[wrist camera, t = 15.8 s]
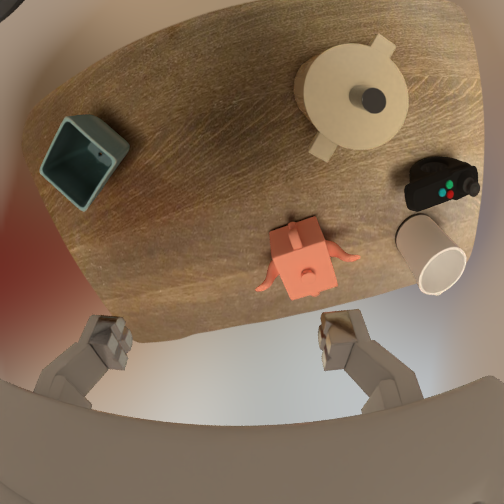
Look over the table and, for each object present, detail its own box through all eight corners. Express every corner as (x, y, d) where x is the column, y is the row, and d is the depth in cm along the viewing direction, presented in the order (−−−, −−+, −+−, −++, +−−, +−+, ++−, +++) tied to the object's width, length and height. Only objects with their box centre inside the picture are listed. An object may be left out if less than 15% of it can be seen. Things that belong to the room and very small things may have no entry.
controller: (450, 170, 35) (488, 198, 27) (388, 193, 38) (419, 227, 30) (447, 145, 33) (488, 169, 25) (383, 167, 36) (416, 196, 28)
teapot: (352, 257, 45) (367, 291, 38) (268, 284, 48) (270, 322, 41) (336, 194, 38) (354, 224, 32) (239, 228, 42) (237, 263, 35)
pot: (269, 123, 33) (274, 136, 26) (326, 22, 25) (347, 9, 18) (337, 159, 35) (358, 182, 29) (393, 67, 27) (427, 69, 20)
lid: (281, 114, 25) (287, 121, 21) (333, 24, 19) (348, 16, 15) (371, 165, 28) (388, 181, 24) (419, 86, 22) (443, 91, 18)
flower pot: (72, 150, 34) (37, 172, 26) (101, 103, 30) (65, 115, 23) (112, 185, 37) (83, 213, 30) (145, 140, 34) (118, 160, 26)
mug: (389, 220, 41) (418, 260, 32) (434, 204, 39) (468, 238, 30) (395, 269, 47) (418, 310, 38) (435, 253, 45) (462, 290, 36)
